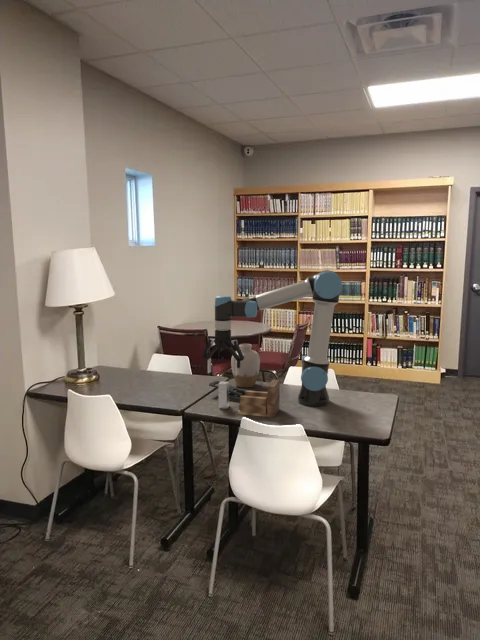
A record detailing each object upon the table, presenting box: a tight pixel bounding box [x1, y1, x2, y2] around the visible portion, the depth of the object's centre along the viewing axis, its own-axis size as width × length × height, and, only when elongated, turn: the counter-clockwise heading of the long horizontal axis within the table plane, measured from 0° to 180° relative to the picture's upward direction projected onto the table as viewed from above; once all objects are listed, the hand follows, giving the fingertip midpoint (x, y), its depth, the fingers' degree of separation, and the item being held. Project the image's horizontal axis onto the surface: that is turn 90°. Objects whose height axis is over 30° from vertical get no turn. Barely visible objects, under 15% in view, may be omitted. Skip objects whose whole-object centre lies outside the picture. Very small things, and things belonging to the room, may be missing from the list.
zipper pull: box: [208, 380, 252, 403], centre depth 240 cm, size 9×7×25 cm
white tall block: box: [217, 380, 230, 410], centre depth 225 cm, size 4×4×12 cm
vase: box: [230, 343, 261, 389], centre depth 261 cm, size 16×16×23 cm
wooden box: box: [237, 379, 281, 418], centre depth 218 cm, size 17×12×14 cm
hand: (222, 373), depth 224 cm, fingers open, 13 cm apart
